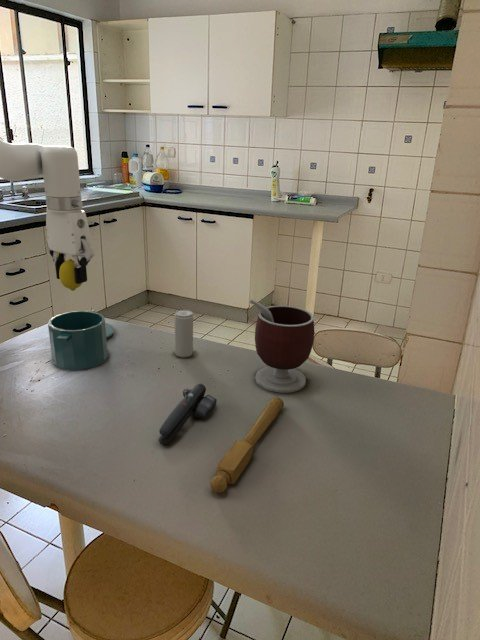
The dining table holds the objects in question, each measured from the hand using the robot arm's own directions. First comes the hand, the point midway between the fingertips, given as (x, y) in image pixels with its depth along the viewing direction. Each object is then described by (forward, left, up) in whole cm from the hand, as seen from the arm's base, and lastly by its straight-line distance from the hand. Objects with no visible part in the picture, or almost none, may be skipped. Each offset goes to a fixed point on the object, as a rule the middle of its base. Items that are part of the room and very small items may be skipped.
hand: (72, 279), depth 112 cm
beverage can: (+26, +6, -21) cm, 34 cm away
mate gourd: (+51, -4, -21) cm, 56 cm away
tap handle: (+46, -31, -21) cm, 59 cm away
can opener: (+32, -25, -21) cm, 46 cm away
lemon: (0, 0, -3) cm, 3 cm away
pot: (0, 0, -21) cm, 21 cm away
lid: (-3, +15, -21) cm, 26 cm away
